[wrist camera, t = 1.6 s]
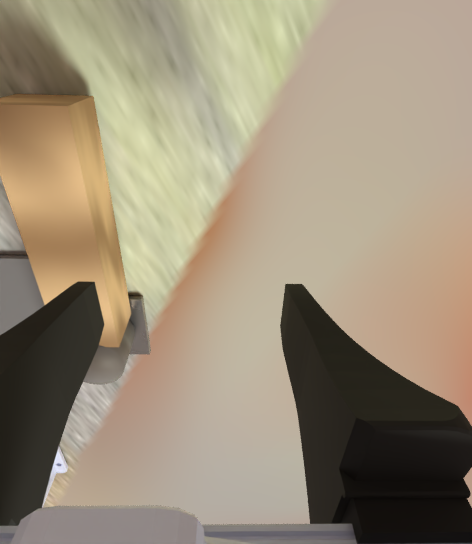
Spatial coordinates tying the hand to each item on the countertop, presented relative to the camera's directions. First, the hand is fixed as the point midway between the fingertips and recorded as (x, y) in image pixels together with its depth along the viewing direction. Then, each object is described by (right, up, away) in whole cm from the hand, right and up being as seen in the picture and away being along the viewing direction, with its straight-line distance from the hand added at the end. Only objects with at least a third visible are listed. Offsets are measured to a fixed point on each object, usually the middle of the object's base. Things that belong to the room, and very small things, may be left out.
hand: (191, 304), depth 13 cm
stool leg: (-7, +3, +8) cm, 11 cm away
